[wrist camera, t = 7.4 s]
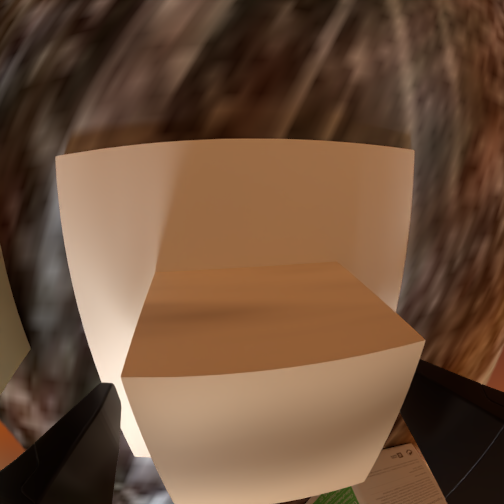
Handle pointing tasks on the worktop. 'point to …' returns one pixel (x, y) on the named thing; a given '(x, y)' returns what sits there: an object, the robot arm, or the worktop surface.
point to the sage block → (9, 331)
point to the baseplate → (223, 223)
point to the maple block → (266, 381)
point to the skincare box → (390, 482)
